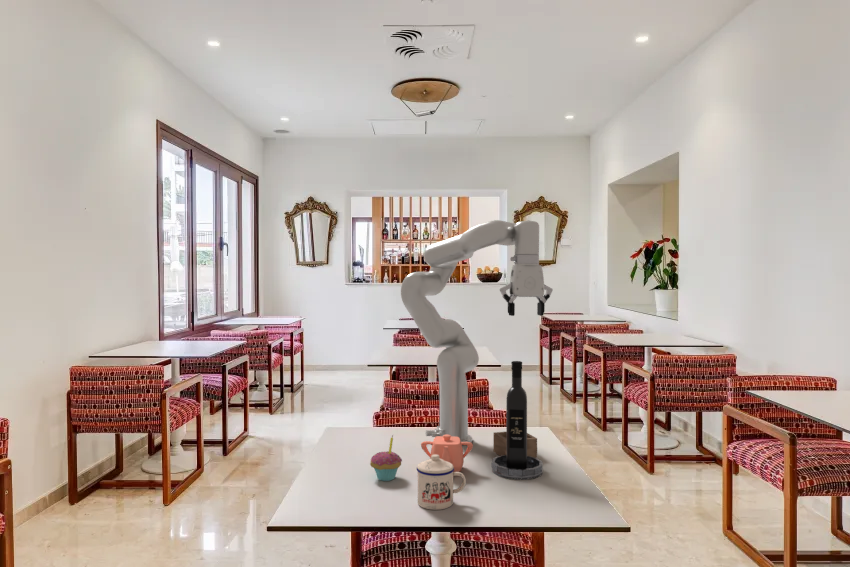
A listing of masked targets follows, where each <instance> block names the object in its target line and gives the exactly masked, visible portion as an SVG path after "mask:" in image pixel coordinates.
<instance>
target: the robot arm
mask: <svg viewBox="0 0 850 567" xmlns="http://www.w3.org/2000/svg"><path fill="white" fill-rule="evenodd" d="M495 245H499V246H507V247H508V246H514V255H513V256H510V260H509V261H511V262H513V264H512V267H511V271H510V276H509V278H510V279H509V283H507V284H506V285H504V286H501V287H500V288H499V292H500V294H501V295H502V298H503V299H504V300H505V302H506V303H507V314H508V315H509V316H511V317H514V316H515V313H516V312H515V311H516V310H515V309H516V307H515V306H516V305H515V302H514V301H515V300H516V299H517V298H526V297H527V298H536V299H537V301H538V302H537V303H536V304H537V309H536V312H537V314H536V315H537V316H544V314H545V311H546V310H545V307H546V305H545V303H547V301H548V300H549V299H550V297H551V295H552V293H553V288H551V287H550V286H548V285H546V284H545V281H544V280H545V279H544V273H543V272H544V271H543V266H542V265H541V264H540V224H539V222H537V221H534V220H522V221H518V222H516V223H515V222H510V221H504V220H499V219H496V220H495V219H494V220H490V221H488V222H483V223H481V224H477V225H475V226H473V227H470V228H468V230H466V231H464V232H462V233H460V234H459V235H458V234H457V235H456V236H452V237H449V238H446V239H444V240H441V241H437V242H434V243H433V244H430V245H428V246H426V248H425V250H424V252H423V258H424V262H425V263H426V264H427V266H430V268H429V271H414V272H411V273H409V274H408V275H406V276H405V277H404V279H403V281H402V283H401V286H400V287H401V288H400V298H401V301H402V304H403V306H404V307H405V310H407V312H408V313H409V315H410V316H411V317H412V319H413V321H414V323H415V325H416V326H417V328H418V329H419V331H420V333H421V335H422V336H423V338H424V339H425V341H426V343H427V344H428V345H429V346H430V347H431V348H435V349H440V348H445V349H443V350H442V351H440V353H439V354H438V356H437V360H436V367H437V376H438V382H439V426H438V425H437V426H436V428H434V429H429V430H425V436H426V437H431V438H435V437H436V436H443V435H446V434H448V435H451V436H454V437H459V438H460V441H461V442H471V443H472V442H473V436H472V435H470V434H469V433H468V432H469V426H468V424H469V422H468V421H469V419H468V418H469V413H468V412H469V410H468V409H469V406H468V405H469V395H468V393H469V392H468V391H469V390H468V389H469V386H468V382H467V377H466V373H468V372H471V371H473V370H474V369H476V367H477V366H478V364H479V359H480V358H479V353H478V351H477V349H476V347H475V345H474V344H473V342H472V340H471V339H470V337H469V336H468V334H467V333H466V331H465V330H464V328H463V327H462V325H461V324H460V323H459V322H457V321H456V320H453V319H451V318H447V319H444V318H443V317H441V315H440V314H439V312H438V311H437V309H436V307H435V306H434V305H433V304H432V302H430V301H429V299H428V298H427V297H426V296H428V297H429V296H436V295H439V294H440V293H441V292H442V291H443V290H444V289H445V287H446V286H447V284H448V282H449V280H450V278H451V277H452V275H453V273H454V271H455V270H456V267H457V266H458V263H459V262H463V261H465V260H468V259H472V257H473V256H474V253H475V252H478V251H479V250H482V249H484V248H487V247H491V246H495ZM508 290H509V295H508V293H507V291H508Z"/></svg>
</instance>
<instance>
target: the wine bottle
mask: <svg viewBox="0 0 850 567" xmlns="http://www.w3.org/2000/svg"><path fill="white" fill-rule="evenodd" d="M522 372H523V361H521V360H520V361H519V360H512V361H511V387H510V388H509V389H508V391H507V393H506V412H505V413H506V420H505V421H506V431H505V432H506V467H507V468H511V469H527V433H528V395H527V392H526V390H525V388H524V387H522V385H523V384H522V382H523V380H522V379H523V378H522V377H523V376H522V375H523V373H522Z"/></svg>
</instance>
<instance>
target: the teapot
mask: <svg viewBox="0 0 850 567" xmlns="http://www.w3.org/2000/svg"><path fill="white" fill-rule="evenodd" d="M428 445H431V449H430V451H429V449H428V447H427V446H428ZM420 446H421V449H422V450H423V452H424V453H425V454H426V455H427V457H429V459H431V456H432V455H434V454H436V455H439V458H440V459H443V460H444V461H447V462H450V463H451V464H452V465H453V467H454V471H453V472H461V471H462V469H463V466H464V462H465V461H464V459H465V457H467V456H468V454H470V452H471V451H472V450H473V447H474V444H473V443H472V442H461V441H460V438H459V437H454V436H451V435H448V434H446V435H443V436H436V437H433V441H431V440H429V441H428V440H425V441H422V442H421V444H420ZM463 446H467V448H466V449H465V452H464V450H463Z"/></svg>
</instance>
